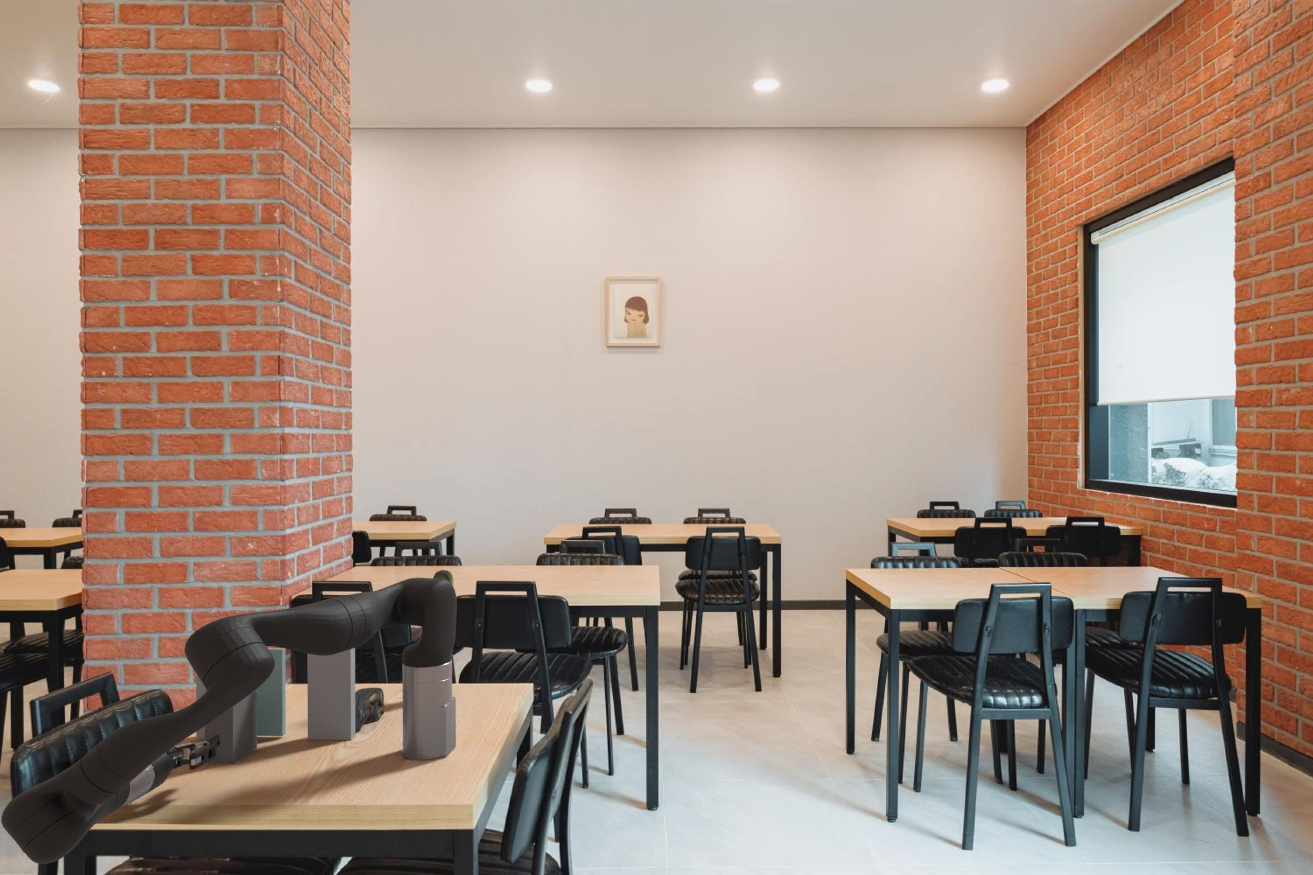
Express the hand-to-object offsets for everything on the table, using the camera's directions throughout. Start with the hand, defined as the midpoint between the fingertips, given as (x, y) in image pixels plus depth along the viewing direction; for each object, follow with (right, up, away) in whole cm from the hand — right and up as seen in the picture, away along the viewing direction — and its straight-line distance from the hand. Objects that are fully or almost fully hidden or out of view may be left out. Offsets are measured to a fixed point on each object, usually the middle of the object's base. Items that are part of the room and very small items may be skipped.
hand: (194, 739), depth 144 cm
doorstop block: (+1, -7, +11) cm, 13 cm away
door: (-1, -7, +21) cm, 22 cm away
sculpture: (+19, -7, +29) cm, 35 cm away
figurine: (+31, -8, +47) cm, 57 cm away
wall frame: (+5, -7, +20) cm, 22 cm away
